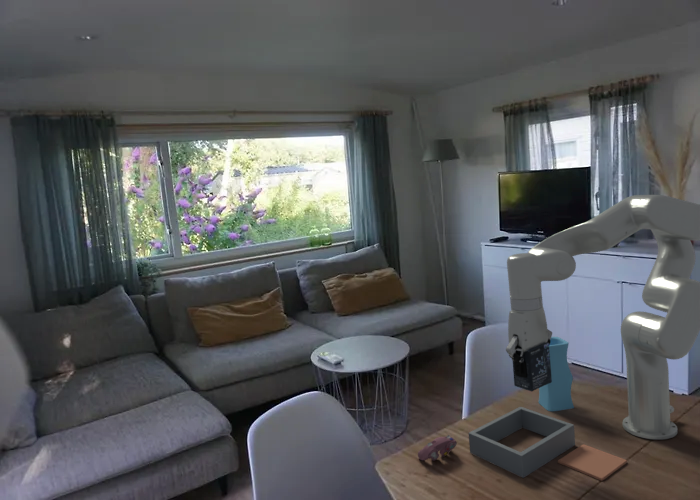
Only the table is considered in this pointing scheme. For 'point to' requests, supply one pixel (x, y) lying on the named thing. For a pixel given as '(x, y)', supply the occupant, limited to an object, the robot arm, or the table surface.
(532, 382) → the box
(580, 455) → the mat
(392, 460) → the table surface
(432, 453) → the video game controller
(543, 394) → the vase
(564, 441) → the enclosure
